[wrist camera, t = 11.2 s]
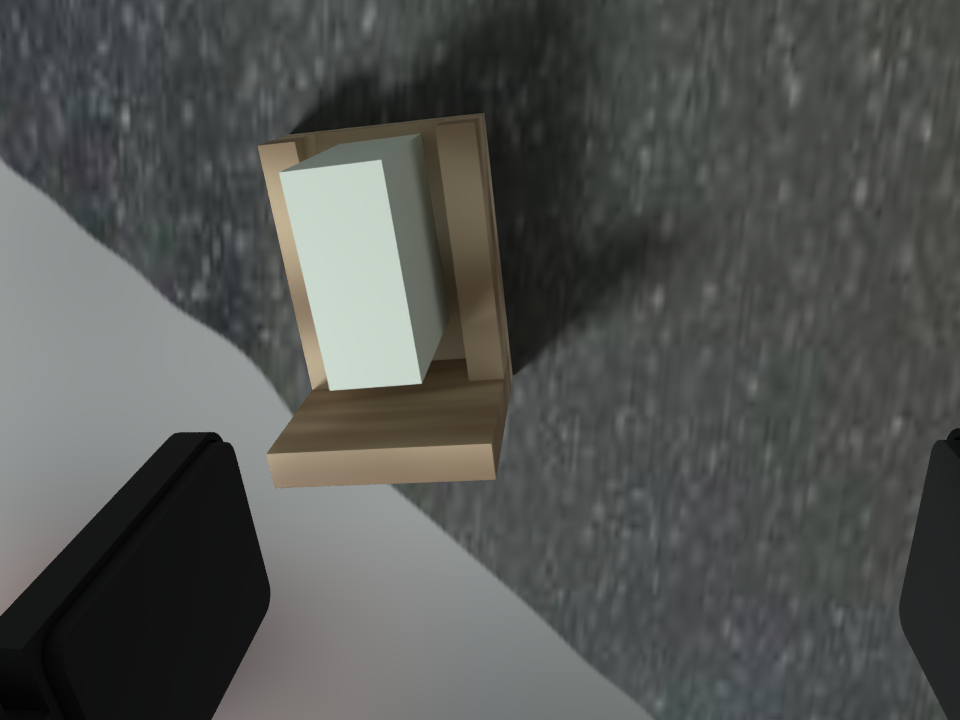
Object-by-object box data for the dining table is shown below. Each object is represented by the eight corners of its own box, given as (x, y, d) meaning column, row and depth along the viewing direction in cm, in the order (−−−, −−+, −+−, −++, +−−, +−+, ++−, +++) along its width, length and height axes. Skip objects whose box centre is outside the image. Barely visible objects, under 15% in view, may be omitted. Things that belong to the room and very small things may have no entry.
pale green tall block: (338, 144, 31) (278, 172, 24) (420, 133, 30) (381, 159, 24) (374, 324, 34) (329, 390, 28) (449, 317, 33) (421, 383, 27)
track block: (288, 134, 32) (192, 169, 24) (484, 112, 31) (453, 140, 22) (340, 386, 37) (275, 488, 28) (512, 376, 35) (495, 479, 27)
